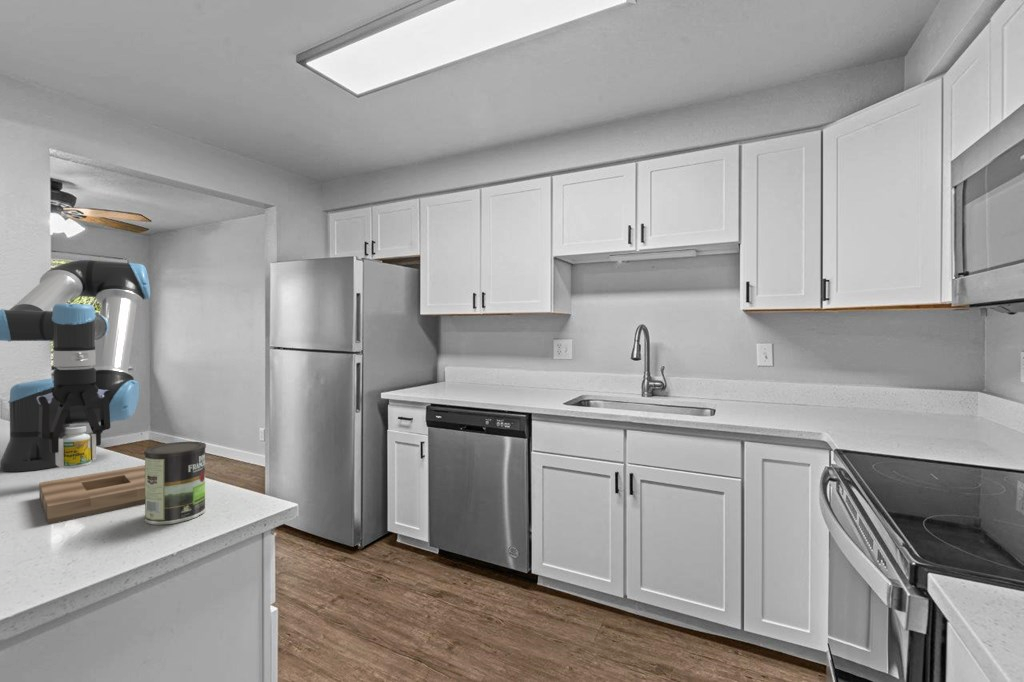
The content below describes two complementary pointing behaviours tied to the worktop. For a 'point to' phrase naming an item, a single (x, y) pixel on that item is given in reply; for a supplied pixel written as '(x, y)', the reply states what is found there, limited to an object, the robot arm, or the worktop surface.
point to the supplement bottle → (76, 447)
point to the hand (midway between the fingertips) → (76, 462)
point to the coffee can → (174, 482)
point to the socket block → (92, 493)
